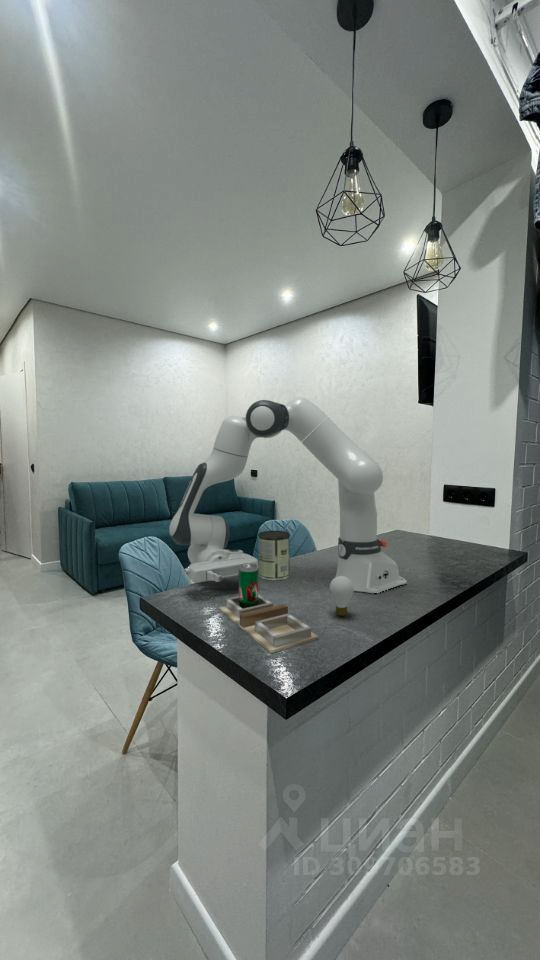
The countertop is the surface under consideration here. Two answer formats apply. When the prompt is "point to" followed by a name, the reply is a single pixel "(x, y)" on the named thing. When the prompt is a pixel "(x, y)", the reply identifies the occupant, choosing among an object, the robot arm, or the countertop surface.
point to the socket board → (269, 624)
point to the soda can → (248, 585)
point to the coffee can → (274, 555)
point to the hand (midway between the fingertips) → (235, 575)
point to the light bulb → (341, 593)
